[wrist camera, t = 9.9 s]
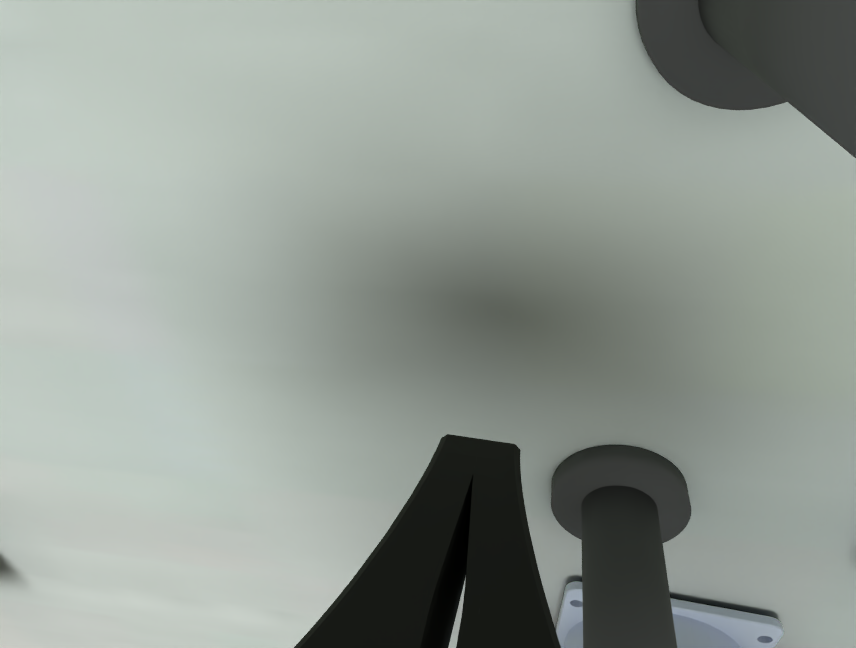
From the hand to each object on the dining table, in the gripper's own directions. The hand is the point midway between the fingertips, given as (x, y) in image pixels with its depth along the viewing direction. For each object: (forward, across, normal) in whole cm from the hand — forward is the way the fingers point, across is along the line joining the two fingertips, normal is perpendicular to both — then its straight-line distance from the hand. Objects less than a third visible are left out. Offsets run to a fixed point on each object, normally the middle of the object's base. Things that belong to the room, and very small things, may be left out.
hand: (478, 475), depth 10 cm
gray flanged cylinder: (+6, -4, +8) cm, 11 cm away
